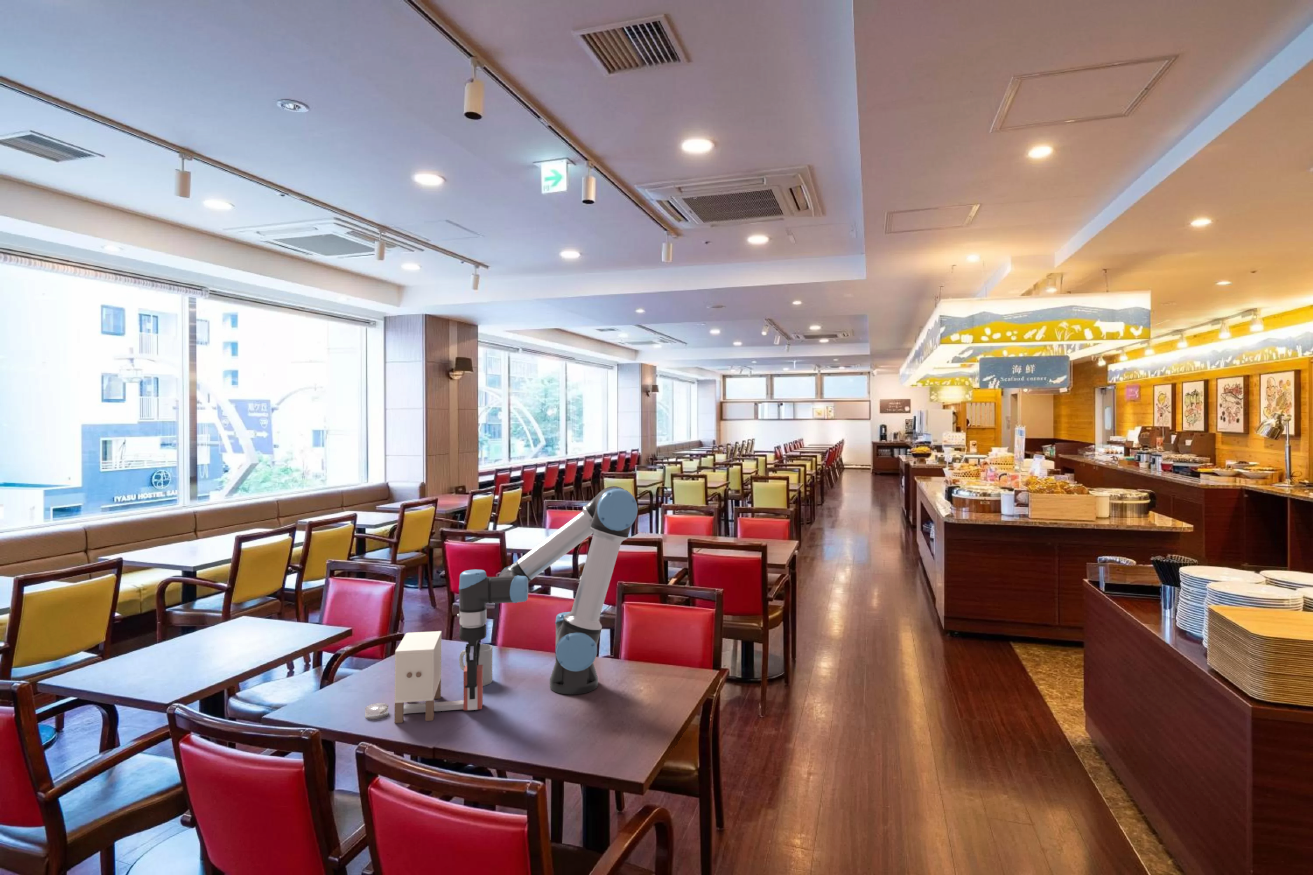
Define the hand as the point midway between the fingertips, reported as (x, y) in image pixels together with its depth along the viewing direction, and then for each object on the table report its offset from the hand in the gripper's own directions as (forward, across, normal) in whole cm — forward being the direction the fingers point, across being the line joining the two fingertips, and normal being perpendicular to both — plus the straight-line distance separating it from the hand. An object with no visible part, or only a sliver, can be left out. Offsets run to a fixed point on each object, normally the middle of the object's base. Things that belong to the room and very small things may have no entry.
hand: (473, 705), depth 192 cm
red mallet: (0, 0, -8) cm, 8 cm away
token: (+1, 0, -26) cm, 26 cm away
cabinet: (+1, -2, -15) cm, 15 cm away
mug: (+1, -22, -1) cm, 22 cm away
